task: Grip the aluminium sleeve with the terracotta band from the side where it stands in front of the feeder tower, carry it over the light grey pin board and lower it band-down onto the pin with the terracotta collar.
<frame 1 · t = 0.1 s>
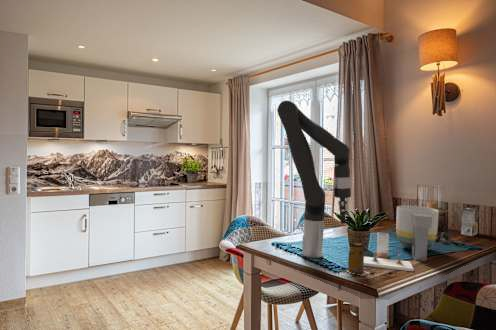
hand: (343, 221, 161), 17 cm above the table, tool pointing down, fingers open, 8 cm apart
condiment: (357, 273, 144), on the table
planter: (415, 249, 181), on the table
sleeve: (381, 256, 166), on the table
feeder: (416, 258, 166), on the table
pin board: (386, 264, 154), on the table
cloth: (444, 243, 197), on the table
coffee box: (469, 234, 219), on the table
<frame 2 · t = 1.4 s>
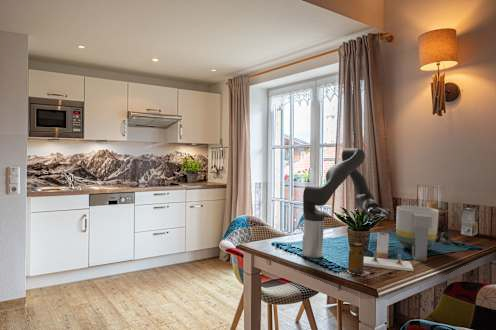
hand: (378, 216, 174), 18 cm above the table, tool horizontal, fingers open, 8 cm apart
nothing on the table moved.
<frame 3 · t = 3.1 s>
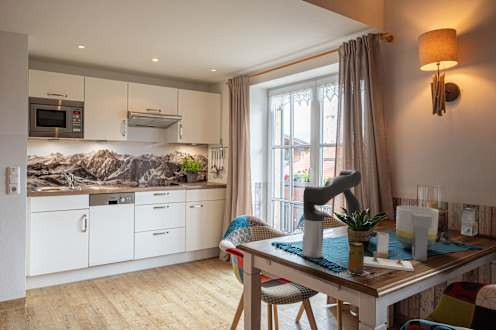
hand: (375, 238, 175), 6 cm above the table, tool horizontal, fingers open, 8 cm apart
nothing on the table moved.
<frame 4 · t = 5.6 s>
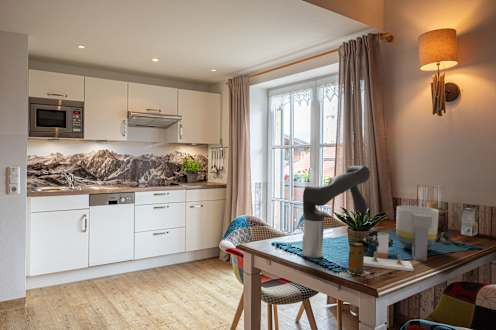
hand: (384, 244, 163), 7 cm above the table, tool horizontal, fingers closed on sleeve, 5 cm apart
sleeve: (381, 256, 166), on the table, touching gripper
everything else where it was.
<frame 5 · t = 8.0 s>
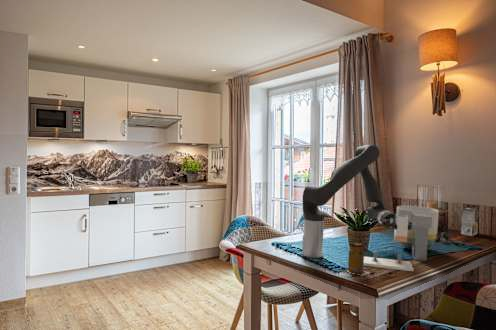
hand: (403, 227, 150), 18 cm above the table, tool horizontal, fingers closed on sleeve, 5 cm apart
sleeve: (400, 240, 153), point 11 cm above the table, touching gripper
everything else where it was.
when the fingers open (9 cm above the table, at t = 10.7 s): sleeve stays where it is, resting on pin board.
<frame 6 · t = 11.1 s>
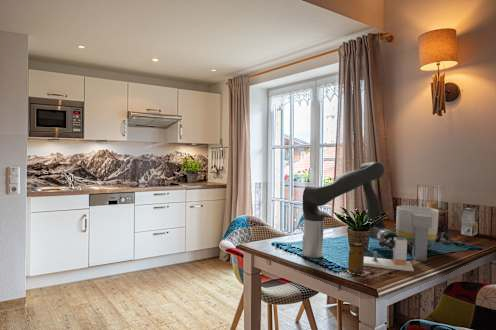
hand: (401, 248, 151), 9 cm above the table, tool horizontal, fingers open, 8 cm apart
sleeve: (399, 263, 153), point 1 cm above the table, touching pin board
everything else where it was.
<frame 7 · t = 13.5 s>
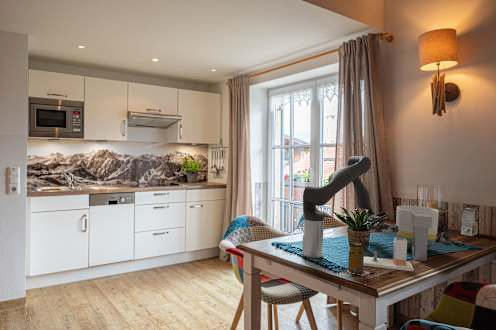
hand: (387, 230, 164), 13 cm above the table, tool horizontal, fingers open, 8 cm apart
nothing on the table moved.
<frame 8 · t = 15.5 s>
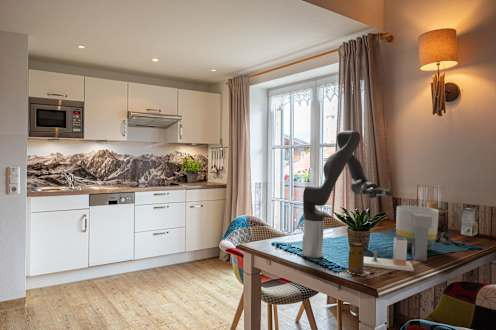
hand: (381, 193, 167), 30 cm above the table, tool horizontal, fingers open, 8 cm apart
nothing on the table moved.
at the end: sleeve 0.1 cm from the target spot on the pin board, point 1.2 cm above the pin board's base; sleeve tilted 0°; the gripper is holding nothing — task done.
